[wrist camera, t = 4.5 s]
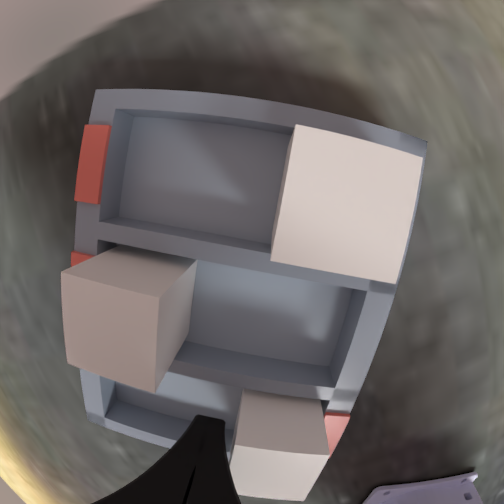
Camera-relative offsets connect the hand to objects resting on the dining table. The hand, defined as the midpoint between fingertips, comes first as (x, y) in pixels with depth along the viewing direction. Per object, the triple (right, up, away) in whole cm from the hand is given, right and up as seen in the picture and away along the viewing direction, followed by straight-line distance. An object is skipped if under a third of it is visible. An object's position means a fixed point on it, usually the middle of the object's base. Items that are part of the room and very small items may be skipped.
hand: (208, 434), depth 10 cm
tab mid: (-2, +5, +1) cm, 6 cm away
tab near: (+4, +9, 0) cm, 9 cm away
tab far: (+3, 0, +2) cm, 3 cm away
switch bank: (+1, +5, +2) cm, 6 cm away
